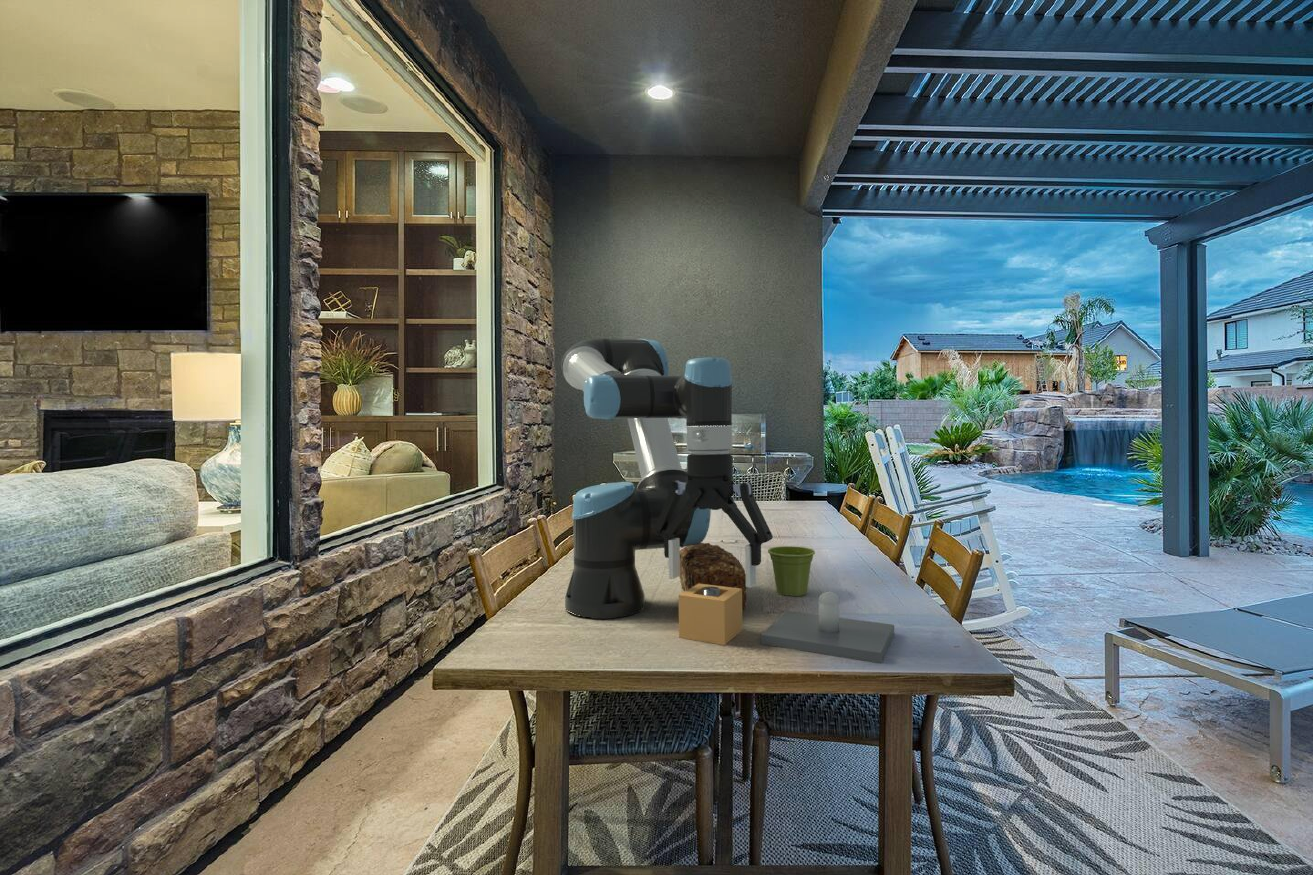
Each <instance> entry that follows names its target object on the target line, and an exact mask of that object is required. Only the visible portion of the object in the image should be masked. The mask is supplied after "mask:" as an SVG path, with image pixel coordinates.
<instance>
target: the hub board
mask: <svg viewBox="0 0 1313 875" xmlns="http://www.w3.org/2000/svg"><path fill="white" fill-rule="evenodd" d="M894 635H895V624H891V623H884V622H876V621H869V620H862V619H854V618H846V617H841V616H840V599H839V597H838V595H837V594H836V593H835V592H832V591H824V592H822V593H821V594H820V596H819V597H818V614H816V613H810V612H804V611H803V612H801V611H794V610H786V611H785V612H784V613H782V614H781V615H780V616H779V617H778V618H777V619H776V620H775V621H774V622H772V624H770V626H769V627H768V628H766V629H765V630H764V631H763V632H762V633H761V635H760V636H761V639H760V640H761V641H760V642H761V645H766V646H771V647H779V648H785V649H790V650H796V651H797V650H798V651H801V652H803V651H804V652H808V653H810V652H811V653H815V654H816V653H817V654H821V655H828V656H834V657H840V658H844V659H845V658H846V659H853V660H859V661H865V662H871V663H876V664H881V663H882V661H883V659H884V657H885V655H886V652H887V650H888V649H889V646H890V645H891V644H890V643H891V642H892V639H893V637H894Z"/></svg>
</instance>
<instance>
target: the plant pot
mask: <svg viewBox="0 0 1313 875" xmlns="http://www.w3.org/2000/svg"><path fill="white" fill-rule="evenodd" d="M767 553H768V554H769V556H770V560H771V561H772V563H771V564H772V569H773V570H772V571H773V576H774V581H775V588H776V590H775V591H776V593H777V594H780V595H782V596H787V595H791V596H792V597H801V596H805V595H807V593H808V589H809V580H810V571H811V566H812V561H813V558H814V555H816V551H815V550H814V549H813V548H809V547H803V546H792V545H791V546H787V545H786V546H775V547H770V548H769V549H767Z"/></svg>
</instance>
